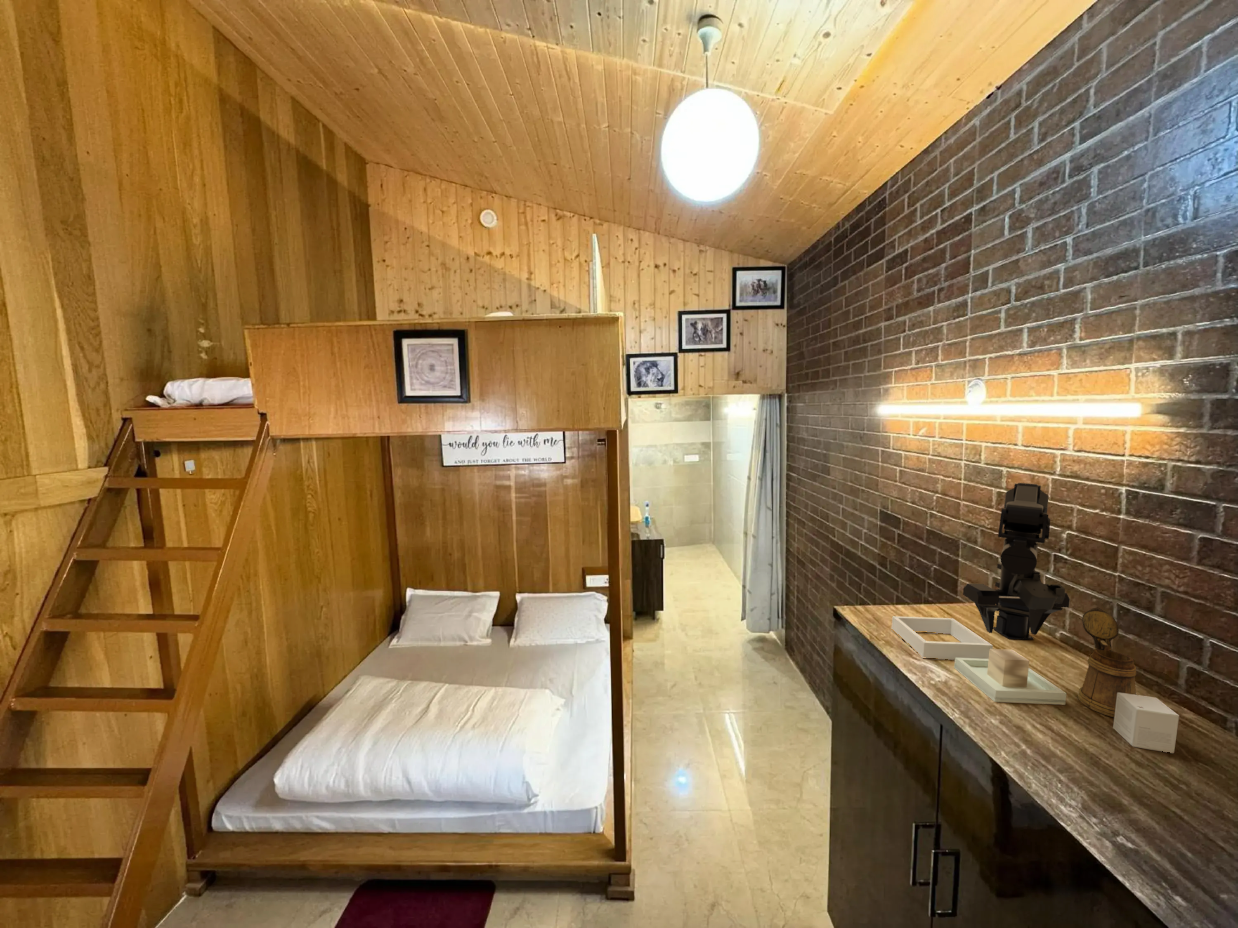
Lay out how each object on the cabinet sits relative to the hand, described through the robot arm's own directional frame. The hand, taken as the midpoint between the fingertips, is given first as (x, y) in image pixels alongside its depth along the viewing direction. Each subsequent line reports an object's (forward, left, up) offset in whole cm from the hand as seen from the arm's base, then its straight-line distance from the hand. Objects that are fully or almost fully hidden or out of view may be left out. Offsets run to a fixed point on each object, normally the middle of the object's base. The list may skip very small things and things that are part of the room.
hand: (1011, 633), depth 111 cm
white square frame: (+4, -19, -12) cm, 23 cm away
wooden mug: (-16, +5, -12) cm, 21 cm away
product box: (-12, +18, -12) cm, 25 cm away
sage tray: (0, 0, -12) cm, 12 cm away
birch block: (0, 0, -11) cm, 11 cm away
